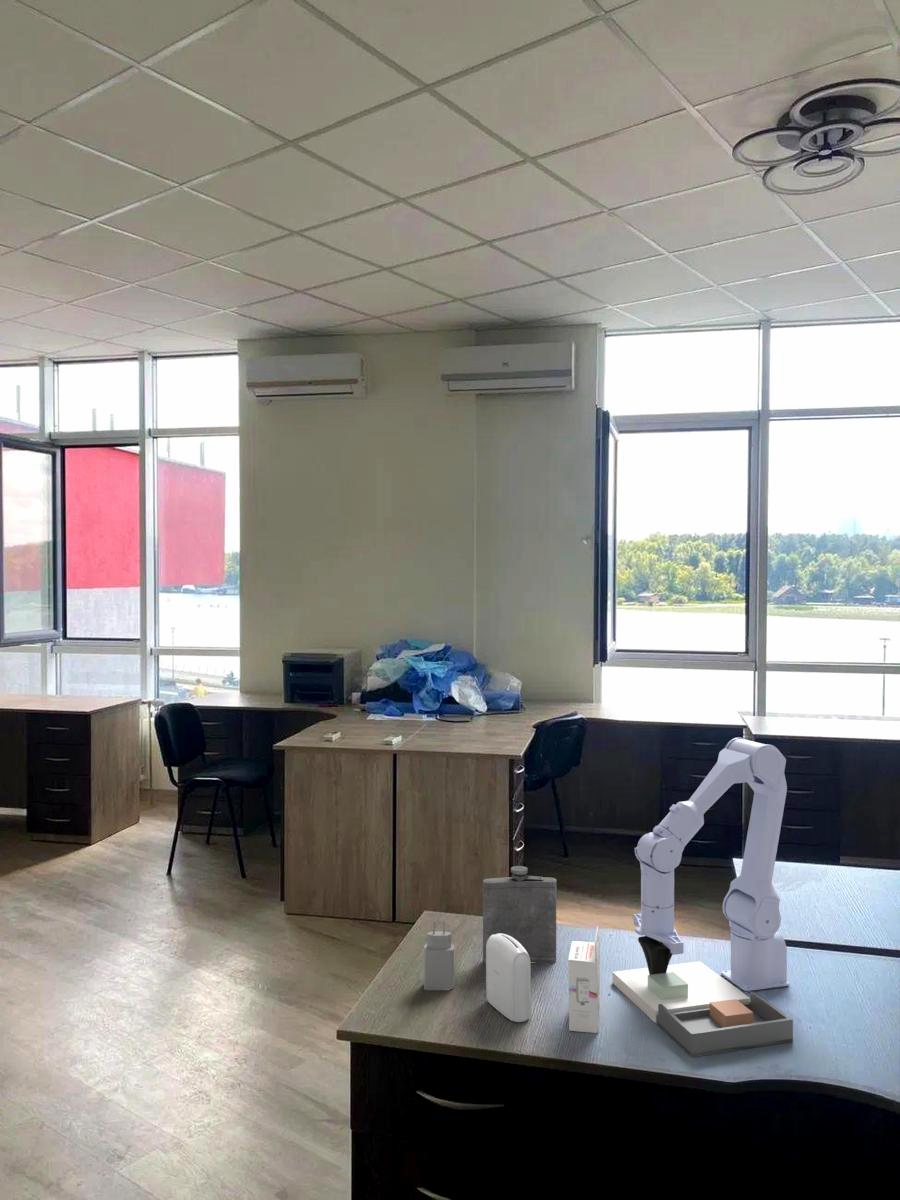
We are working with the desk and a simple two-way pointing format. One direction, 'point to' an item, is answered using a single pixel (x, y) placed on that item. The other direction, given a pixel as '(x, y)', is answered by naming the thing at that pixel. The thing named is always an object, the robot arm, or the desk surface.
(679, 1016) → the box
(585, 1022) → the ink cartridge box
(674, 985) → the sage-green tile
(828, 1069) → the desk surface
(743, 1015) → the terracotta tile
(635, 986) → the white board
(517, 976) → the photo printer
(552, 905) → the flask
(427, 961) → the power adapter
